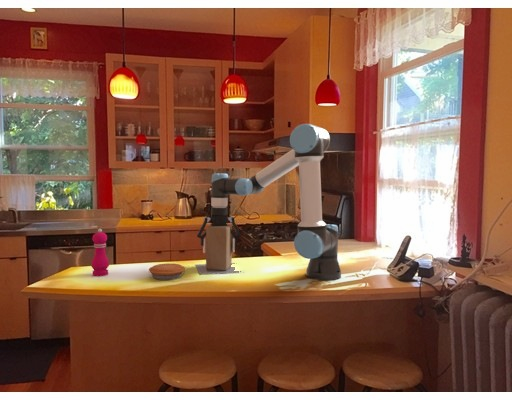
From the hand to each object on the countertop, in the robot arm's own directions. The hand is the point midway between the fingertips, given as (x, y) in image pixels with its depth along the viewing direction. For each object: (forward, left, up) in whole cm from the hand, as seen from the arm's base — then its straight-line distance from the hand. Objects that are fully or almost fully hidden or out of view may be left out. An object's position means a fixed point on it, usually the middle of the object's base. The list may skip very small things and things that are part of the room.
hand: (218, 252), depth 198 cm
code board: (0, 0, -8) cm, 8 cm away
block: (0, 0, -8) cm, 8 cm away
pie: (-11, +24, -8) cm, 28 cm away
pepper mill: (-2, +52, -8) cm, 52 cm away
